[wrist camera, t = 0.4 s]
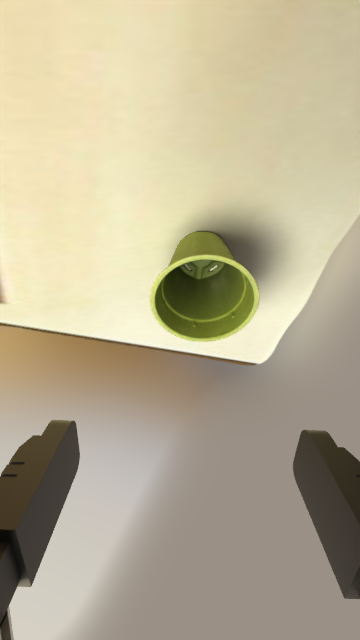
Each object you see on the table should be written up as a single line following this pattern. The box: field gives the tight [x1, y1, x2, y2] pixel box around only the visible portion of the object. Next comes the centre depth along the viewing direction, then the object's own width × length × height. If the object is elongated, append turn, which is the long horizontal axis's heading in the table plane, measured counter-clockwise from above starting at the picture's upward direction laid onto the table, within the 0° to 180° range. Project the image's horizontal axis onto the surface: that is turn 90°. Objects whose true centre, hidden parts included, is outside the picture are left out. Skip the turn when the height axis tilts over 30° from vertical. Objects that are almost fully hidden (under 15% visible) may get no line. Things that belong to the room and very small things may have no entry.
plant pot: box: [150, 232, 259, 342], centre depth 35 cm, size 12×12×11 cm
